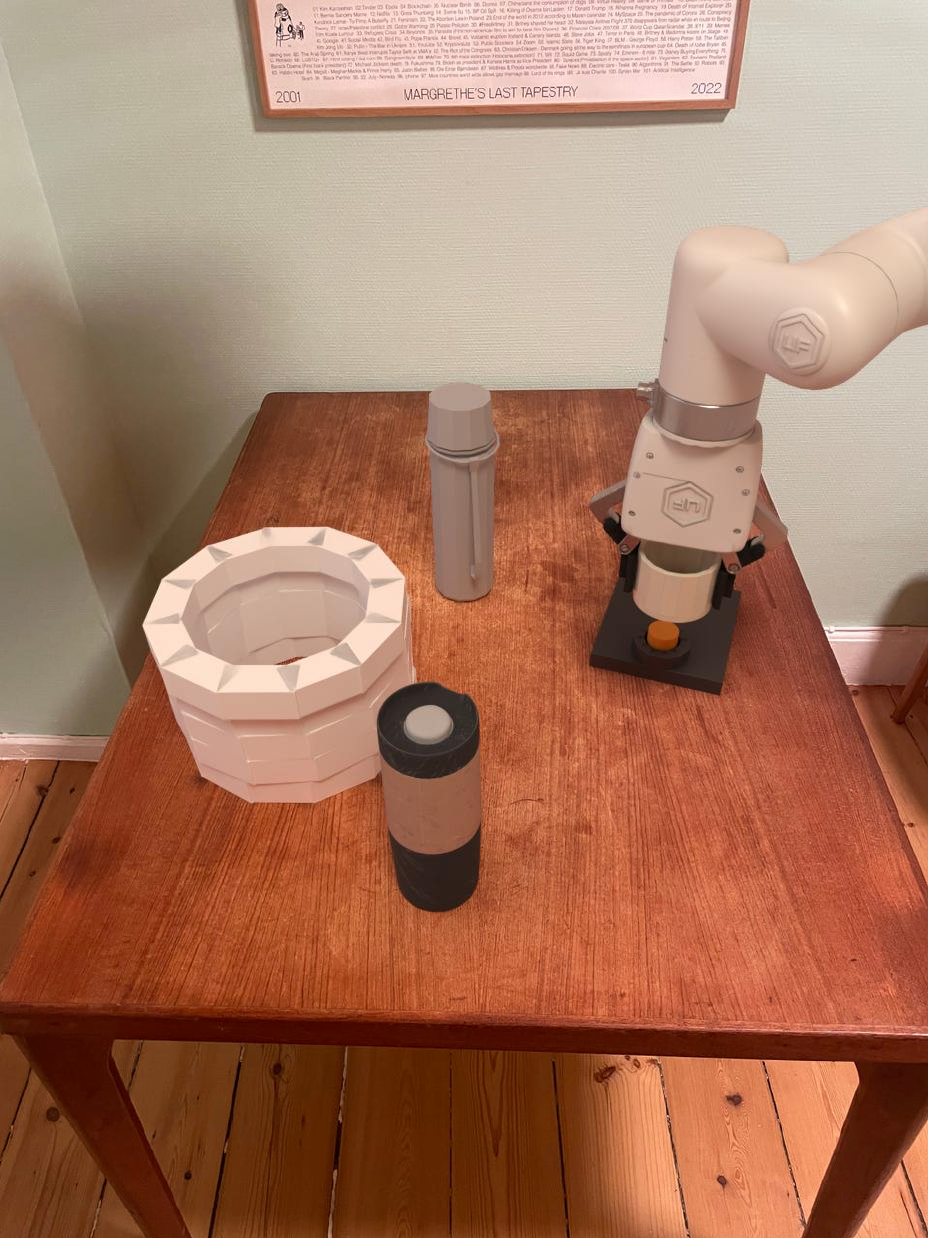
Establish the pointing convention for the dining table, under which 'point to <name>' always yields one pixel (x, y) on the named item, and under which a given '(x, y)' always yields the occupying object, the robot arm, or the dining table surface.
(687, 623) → the scale
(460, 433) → the water bottle
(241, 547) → the container
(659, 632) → the button
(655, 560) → the bowl
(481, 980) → the dining table surface
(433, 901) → the travel mug
